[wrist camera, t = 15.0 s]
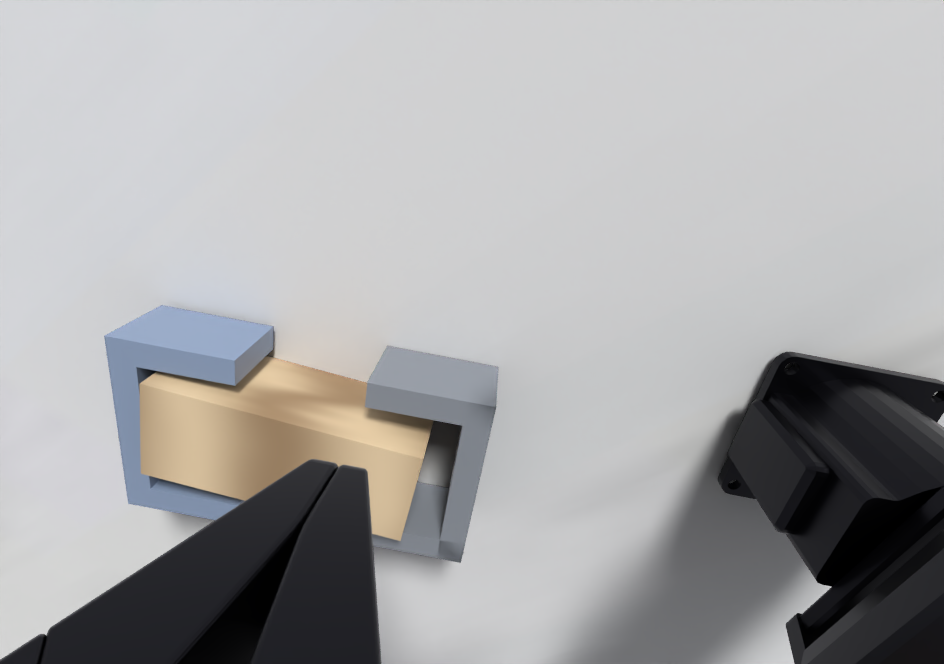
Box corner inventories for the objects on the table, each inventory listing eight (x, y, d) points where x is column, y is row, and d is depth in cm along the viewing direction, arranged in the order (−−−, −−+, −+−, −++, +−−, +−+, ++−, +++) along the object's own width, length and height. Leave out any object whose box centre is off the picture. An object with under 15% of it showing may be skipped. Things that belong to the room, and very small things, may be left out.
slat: (439, 399, 21) (423, 459, 17) (418, 472, 22) (400, 541, 19) (206, 336, 21) (139, 383, 17) (202, 414, 22) (140, 473, 18)
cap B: (273, 326, 20) (234, 360, 17) (271, 475, 23) (238, 524, 20) (161, 305, 20) (104, 335, 17) (175, 456, 23) (128, 503, 20)
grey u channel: (498, 366, 20) (495, 407, 17) (466, 509, 23) (460, 562, 20) (387, 346, 20) (367, 382, 17) (370, 490, 23) (351, 541, 20)
